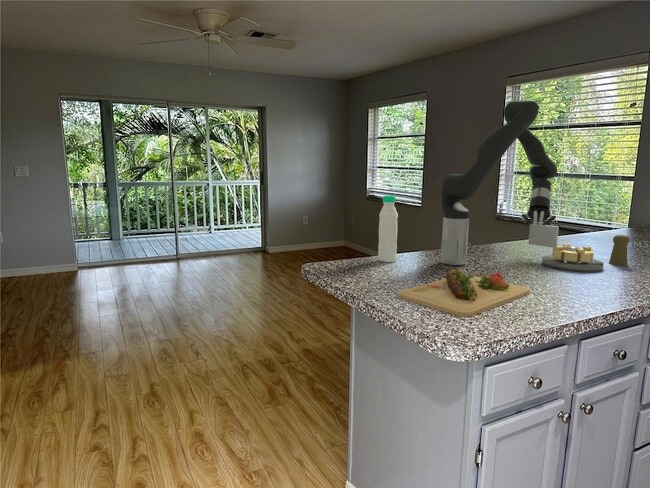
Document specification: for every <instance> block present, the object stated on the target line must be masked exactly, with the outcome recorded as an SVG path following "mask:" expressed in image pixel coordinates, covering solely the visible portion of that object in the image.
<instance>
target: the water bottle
mask: <svg viewBox="0 0 650 488" xmlns="http://www.w3.org/2000/svg"><path fill="white" fill-rule="evenodd" d="M382 203H383V205H382V208H381V210H380V212H379V214H378V215H379V220H378V221H379V222H378V246H377V250H378V254H377V260H378V261H379V260H380V261H379V262H381V261H388V262H387V263H394V262H393V261H395V262H396V261H397V255H398V254H397V250H398V245H397V243H398V218H399V214H398V212H397V209H396V207H395V203H396V196H395V195H383V196H382Z"/></svg>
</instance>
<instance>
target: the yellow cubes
mask: <svg viewBox="0 0 650 488" xmlns="http://www.w3.org/2000/svg"><path fill="white" fill-rule="evenodd" d="M559 227H560V226H559V225H558V226H557V225H550V226H549V225H539V223H537V224H530V228H529V232H528V245H531V246H537V247H538V246H539V247H547V248H552V254H551V255H552V257H553V258H557V259H560V260H565V261H574V262H577V261H579V262H591V261H592V260H593V259H594V253H595V251H594V250H592V247H591V246H587V245H586V246H584V245H583V246H582V247H580V249H576V252H572V251H566V248H567V246H572V245H571V244H570V243H562V244H561V245H558V239H559V229H560V228H559Z"/></svg>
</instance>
